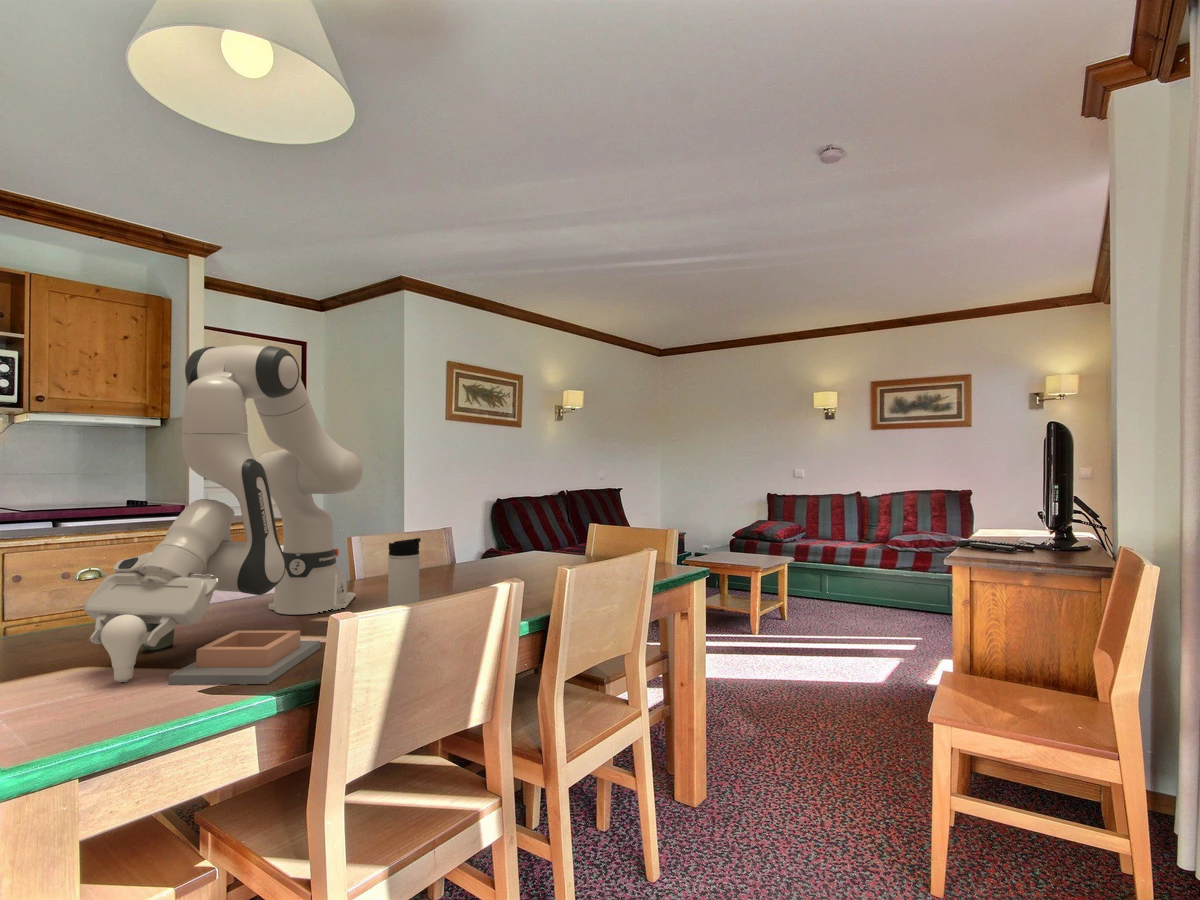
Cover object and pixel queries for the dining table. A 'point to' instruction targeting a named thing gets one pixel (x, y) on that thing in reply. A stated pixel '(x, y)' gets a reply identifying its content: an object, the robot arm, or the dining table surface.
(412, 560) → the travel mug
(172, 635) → the labelled grey plug block
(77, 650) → the dining table surface
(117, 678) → the lightbulb
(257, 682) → the board
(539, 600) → the dining table surface
